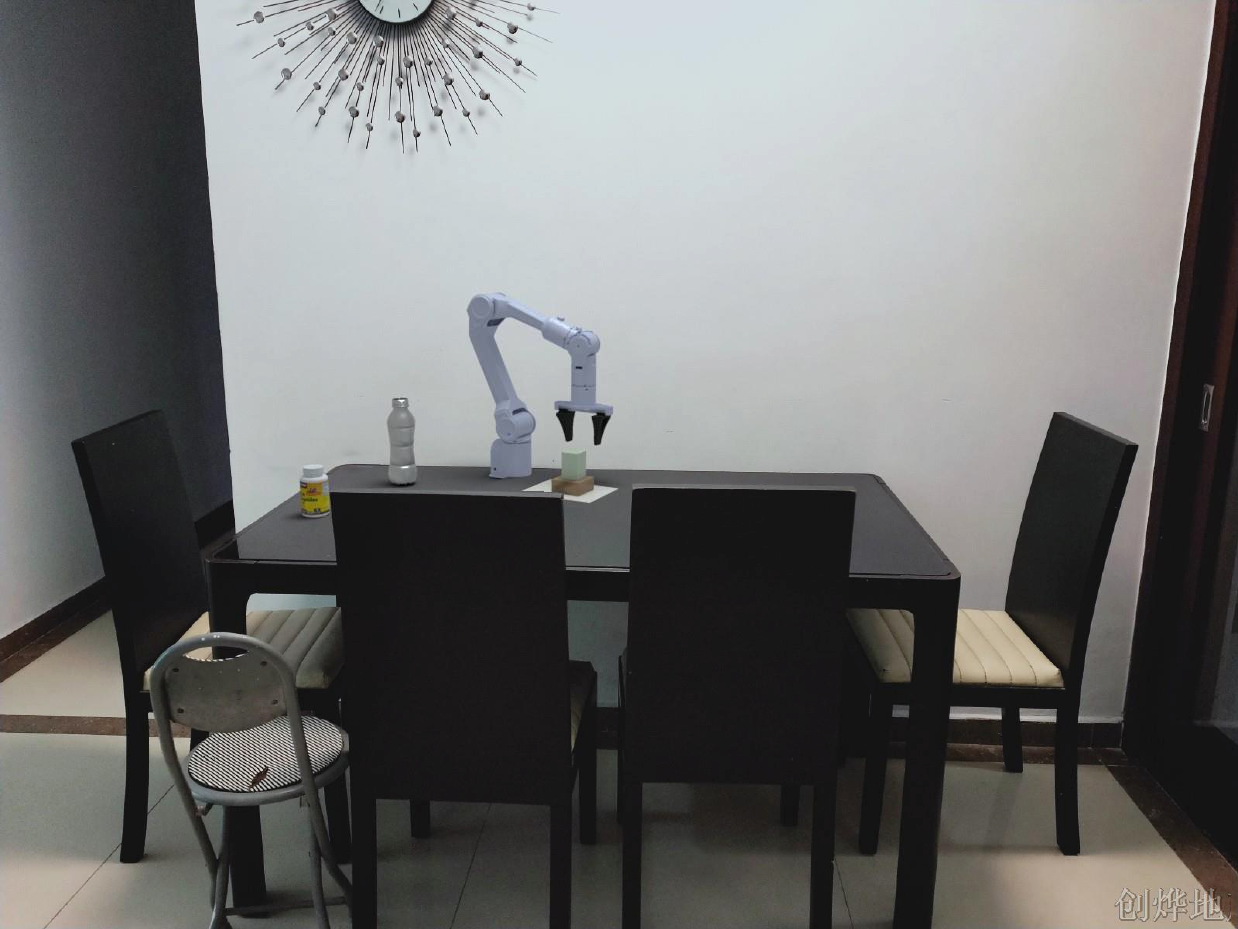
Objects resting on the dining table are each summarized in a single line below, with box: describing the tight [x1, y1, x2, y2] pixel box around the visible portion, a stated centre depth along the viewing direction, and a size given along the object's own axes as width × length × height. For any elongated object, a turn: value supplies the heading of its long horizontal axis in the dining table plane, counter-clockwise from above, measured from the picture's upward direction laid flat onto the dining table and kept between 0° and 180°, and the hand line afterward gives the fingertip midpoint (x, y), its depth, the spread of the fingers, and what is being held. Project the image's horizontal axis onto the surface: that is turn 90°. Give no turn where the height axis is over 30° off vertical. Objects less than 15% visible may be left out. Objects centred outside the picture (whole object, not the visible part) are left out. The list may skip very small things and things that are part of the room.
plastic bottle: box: [386, 397, 418, 485], centre depth 217 cm, size 6×7×20 cm
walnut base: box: [550, 474, 595, 496], centre depth 212 cm, size 7×7×3 cm
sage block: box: [561, 448, 587, 480], centre depth 211 cm, size 4×4×6 cm
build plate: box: [522, 478, 619, 504], centre depth 213 cm, size 18×14×1 cm
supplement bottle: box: [299, 463, 331, 519], centre depth 193 cm, size 6×6×10 cm
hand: (583, 442), depth 220 cm, fingers open, 7 cm apart
